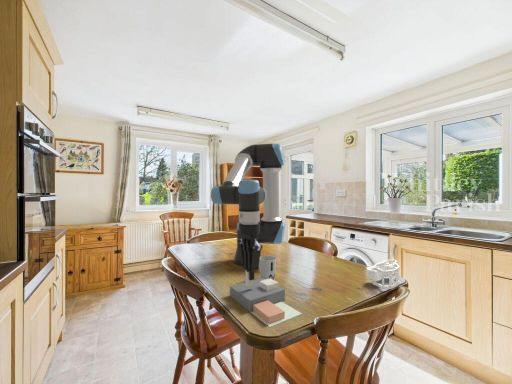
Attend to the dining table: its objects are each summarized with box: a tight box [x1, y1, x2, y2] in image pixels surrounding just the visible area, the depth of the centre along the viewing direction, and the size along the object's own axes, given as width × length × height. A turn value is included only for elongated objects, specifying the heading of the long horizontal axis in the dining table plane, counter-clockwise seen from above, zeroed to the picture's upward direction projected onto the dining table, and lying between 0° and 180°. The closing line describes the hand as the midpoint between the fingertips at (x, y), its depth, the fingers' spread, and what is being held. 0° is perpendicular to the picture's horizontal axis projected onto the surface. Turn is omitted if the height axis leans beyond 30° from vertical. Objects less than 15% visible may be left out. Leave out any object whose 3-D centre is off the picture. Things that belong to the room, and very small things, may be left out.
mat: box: [250, 301, 303, 328], centre depth 76 cm, size 10×13×1 cm
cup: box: [258, 255, 278, 281], centre depth 104 cm, size 8×8×10 cm
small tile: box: [259, 278, 279, 291], centre depth 87 cm, size 5×5×2 cm
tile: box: [252, 300, 285, 324], centre depth 75 cm, size 9×6×2 cm, turn 32°
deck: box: [229, 277, 286, 313], centre depth 87 cm, size 14×15×4 cm
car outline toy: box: [366, 259, 401, 290], centre depth 104 cm, size 20×11×7 cm, turn 127°
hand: (249, 287), depth 85 cm, fingers closed
